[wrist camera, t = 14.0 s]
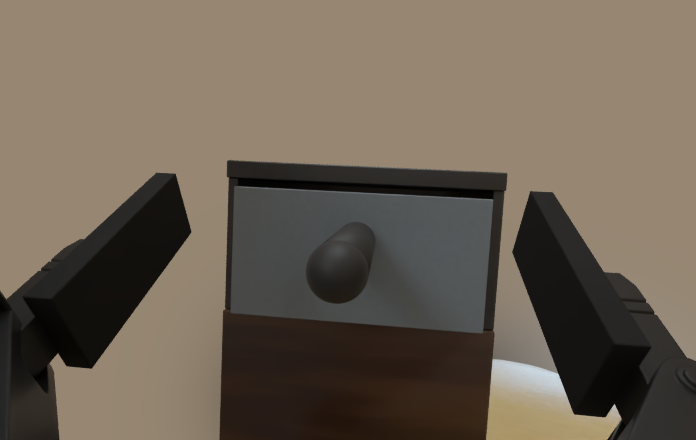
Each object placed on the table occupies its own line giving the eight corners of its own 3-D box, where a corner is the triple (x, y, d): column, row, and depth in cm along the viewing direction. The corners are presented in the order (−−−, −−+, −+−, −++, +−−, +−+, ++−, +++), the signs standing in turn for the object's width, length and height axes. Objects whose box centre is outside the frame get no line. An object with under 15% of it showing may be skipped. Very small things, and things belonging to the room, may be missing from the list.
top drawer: (568, 458, 11) (592, 206, 11) (107, 408, 13) (109, 180, 12) (453, 290, 31) (459, 197, 30) (276, 277, 32) (279, 188, 32)
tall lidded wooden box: (464, 714, 24) (507, 172, 22) (212, 672, 26) (226, 160, 23) (441, 563, 34) (469, 179, 32) (260, 539, 36) (274, 169, 33)
